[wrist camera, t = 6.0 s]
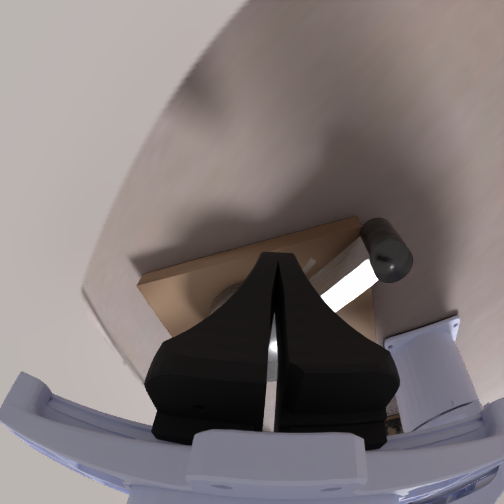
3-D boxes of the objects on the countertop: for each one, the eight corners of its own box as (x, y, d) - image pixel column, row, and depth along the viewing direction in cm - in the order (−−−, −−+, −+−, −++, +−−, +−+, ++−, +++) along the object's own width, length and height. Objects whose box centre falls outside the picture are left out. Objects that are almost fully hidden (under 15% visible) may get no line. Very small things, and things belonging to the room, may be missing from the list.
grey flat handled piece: (266, 368, 23) (264, 400, 21) (188, 322, 21) (177, 355, 18) (420, 261, 17) (439, 292, 14) (347, 174, 14) (363, 196, 12)
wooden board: (372, 329, 23) (376, 343, 21) (204, 361, 26) (200, 374, 25) (356, 215, 17) (363, 227, 16) (143, 273, 21) (135, 286, 20)
